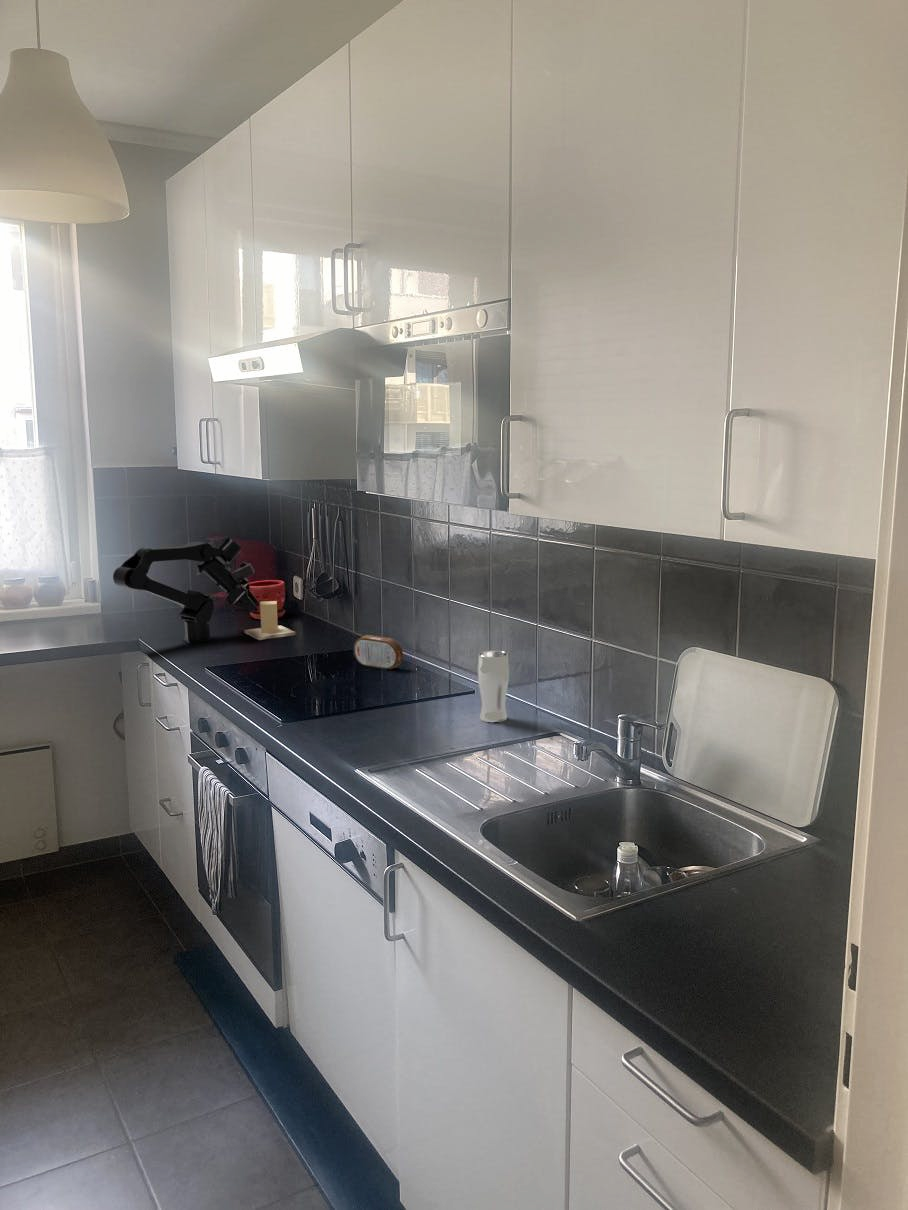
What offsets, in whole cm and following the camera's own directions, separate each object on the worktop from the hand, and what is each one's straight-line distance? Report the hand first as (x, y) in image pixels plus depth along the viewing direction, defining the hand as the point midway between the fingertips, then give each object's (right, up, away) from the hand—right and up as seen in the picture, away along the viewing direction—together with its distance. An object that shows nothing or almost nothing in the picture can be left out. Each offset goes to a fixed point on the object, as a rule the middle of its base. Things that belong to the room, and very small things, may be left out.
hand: (258, 608), depth 309 cm
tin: (+40, -16, -40) cm, 59 cm away
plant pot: (-3, -3, +29) cm, 29 cm away
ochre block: (+3, -7, +2) cm, 8 cm away
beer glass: (+70, -25, -87) cm, 114 cm away
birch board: (+3, -8, +2) cm, 9 cm away
